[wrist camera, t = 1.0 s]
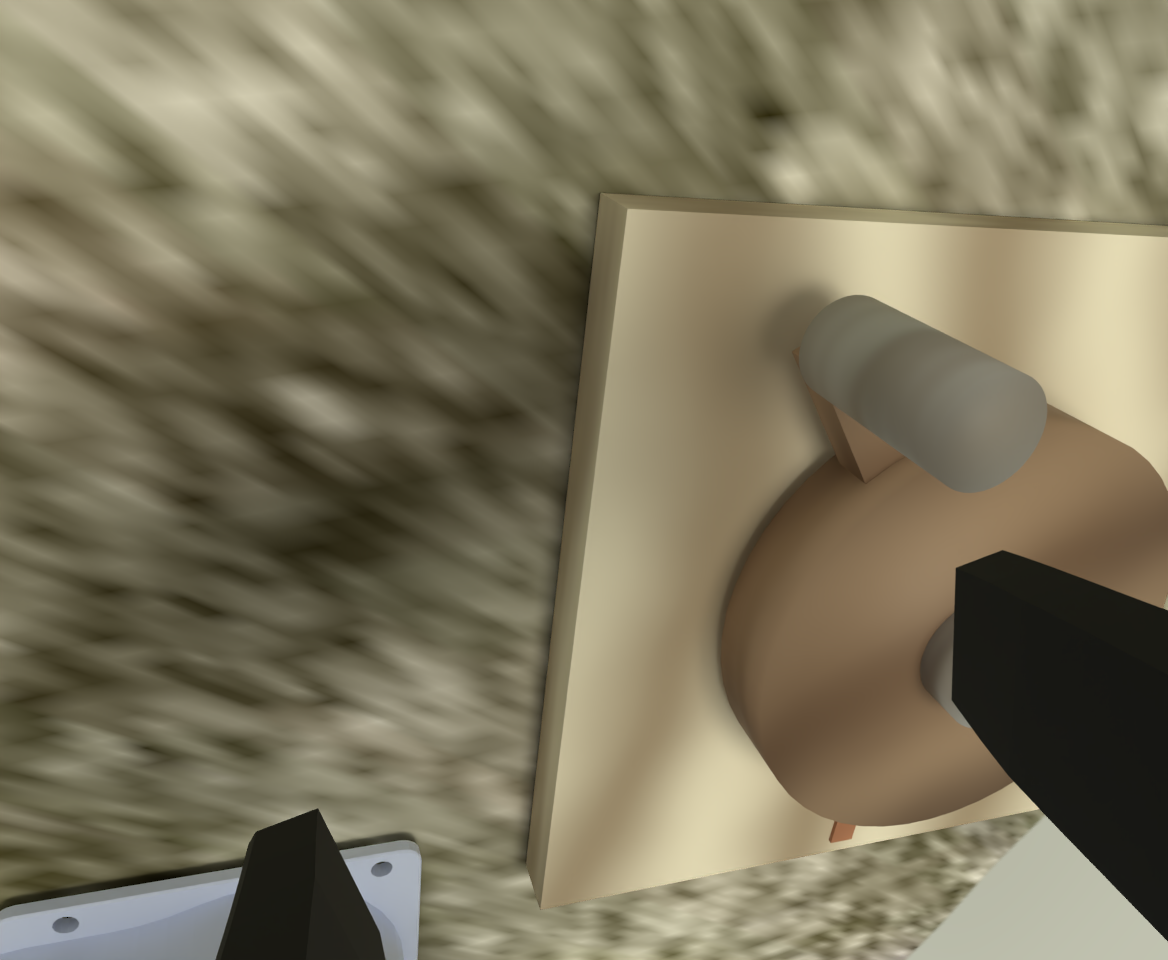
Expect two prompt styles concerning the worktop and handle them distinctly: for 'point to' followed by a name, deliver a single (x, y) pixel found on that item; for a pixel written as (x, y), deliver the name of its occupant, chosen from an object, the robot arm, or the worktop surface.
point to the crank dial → (914, 560)
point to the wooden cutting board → (767, 489)
